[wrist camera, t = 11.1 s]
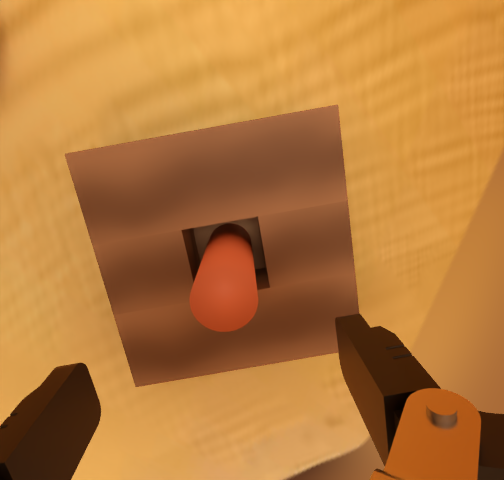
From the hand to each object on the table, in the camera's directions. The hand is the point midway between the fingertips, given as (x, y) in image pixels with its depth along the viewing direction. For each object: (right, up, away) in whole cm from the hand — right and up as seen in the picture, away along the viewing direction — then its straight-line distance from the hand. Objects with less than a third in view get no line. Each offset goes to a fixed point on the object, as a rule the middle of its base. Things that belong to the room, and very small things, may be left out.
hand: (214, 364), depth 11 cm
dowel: (0, +4, +15) cm, 15 cm away
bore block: (-1, +4, +16) cm, 16 cm away
